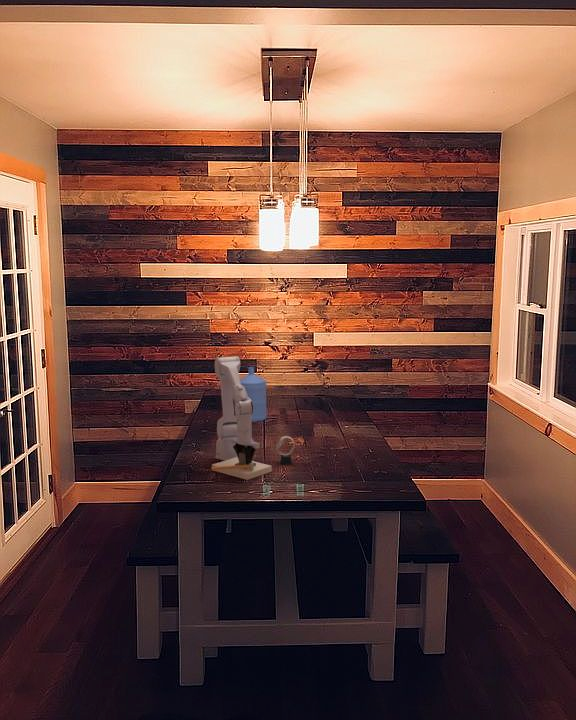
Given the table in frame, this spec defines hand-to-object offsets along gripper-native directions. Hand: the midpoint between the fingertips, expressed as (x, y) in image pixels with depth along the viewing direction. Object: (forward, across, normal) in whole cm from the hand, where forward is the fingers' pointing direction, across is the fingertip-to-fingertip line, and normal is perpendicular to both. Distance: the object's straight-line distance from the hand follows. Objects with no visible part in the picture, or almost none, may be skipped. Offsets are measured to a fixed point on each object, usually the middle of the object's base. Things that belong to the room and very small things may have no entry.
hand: (245, 463), depth 277 cm
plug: (+4, 0, 0) cm, 4 cm away
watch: (+4, -4, -20) cm, 21 cm away
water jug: (+4, +63, -69) cm, 94 cm away
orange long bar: (+1, -1, +8) cm, 8 cm away
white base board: (+4, +2, 0) cm, 4 cm away
